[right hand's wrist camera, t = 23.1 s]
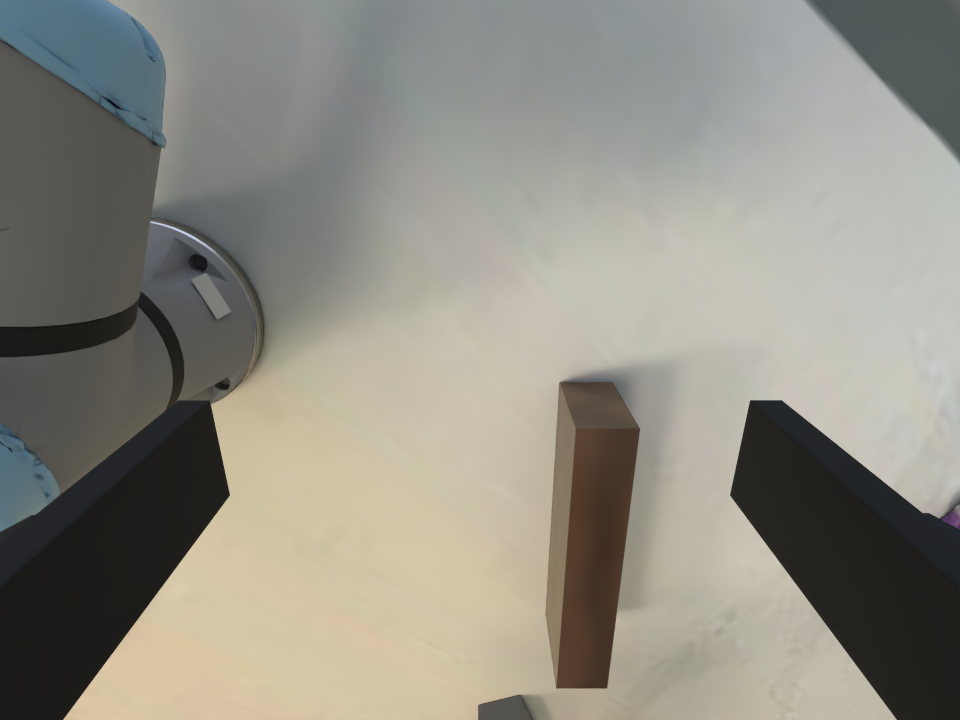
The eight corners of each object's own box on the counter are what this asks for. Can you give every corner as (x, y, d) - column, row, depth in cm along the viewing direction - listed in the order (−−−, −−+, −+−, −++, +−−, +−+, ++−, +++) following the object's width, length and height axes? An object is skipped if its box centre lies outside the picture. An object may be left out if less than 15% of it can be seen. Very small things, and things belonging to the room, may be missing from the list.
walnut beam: (545, 614, 53) (556, 688, 45) (559, 382, 43) (575, 428, 36) (589, 614, 53) (607, 688, 45) (612, 382, 43) (640, 428, 36)
